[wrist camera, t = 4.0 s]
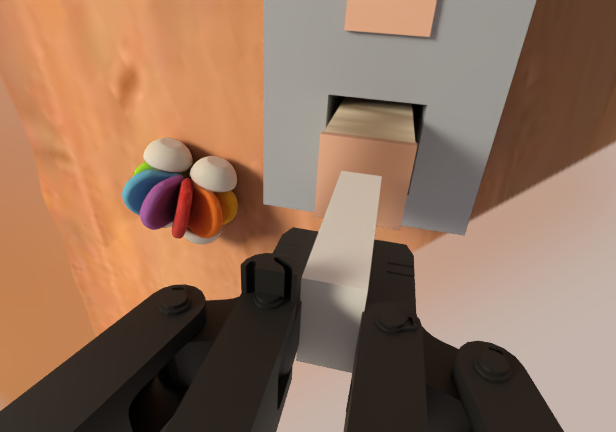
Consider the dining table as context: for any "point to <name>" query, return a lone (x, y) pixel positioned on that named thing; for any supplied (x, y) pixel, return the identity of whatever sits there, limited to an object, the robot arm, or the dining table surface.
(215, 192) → the rainbow disc toy
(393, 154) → the peg
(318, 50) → the socket block
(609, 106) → the dining table surface
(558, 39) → the dining table surface
